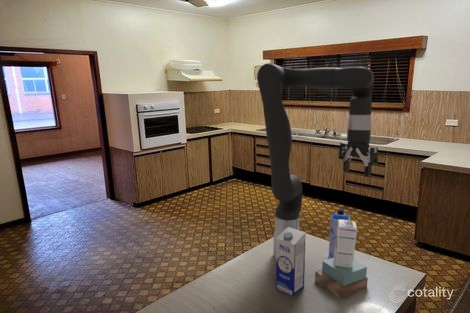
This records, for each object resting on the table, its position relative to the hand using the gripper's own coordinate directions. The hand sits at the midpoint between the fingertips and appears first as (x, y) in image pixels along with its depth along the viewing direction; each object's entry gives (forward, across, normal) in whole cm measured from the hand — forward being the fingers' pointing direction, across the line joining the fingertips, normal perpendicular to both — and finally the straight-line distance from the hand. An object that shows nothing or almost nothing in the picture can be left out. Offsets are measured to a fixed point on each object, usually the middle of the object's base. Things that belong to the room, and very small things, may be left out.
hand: (356, 174), depth 116 cm
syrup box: (+28, +5, -11) cm, 31 cm away
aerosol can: (+36, -8, +3) cm, 37 cm away
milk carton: (+36, -3, -27) cm, 45 cm away
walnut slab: (+37, +4, -11) cm, 38 cm away
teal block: (+33, +5, -10) cm, 35 cm away
